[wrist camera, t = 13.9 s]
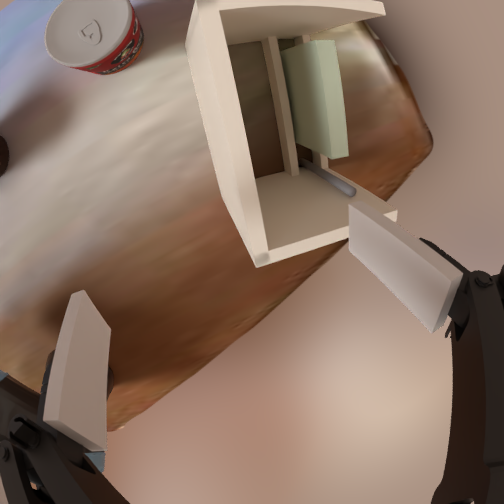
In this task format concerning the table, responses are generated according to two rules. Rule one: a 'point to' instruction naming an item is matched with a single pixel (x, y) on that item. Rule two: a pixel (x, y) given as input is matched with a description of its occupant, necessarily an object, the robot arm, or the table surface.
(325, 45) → the door
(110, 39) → the canned food
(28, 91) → the table surface
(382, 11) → the cabinet
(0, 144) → the coffee mug
